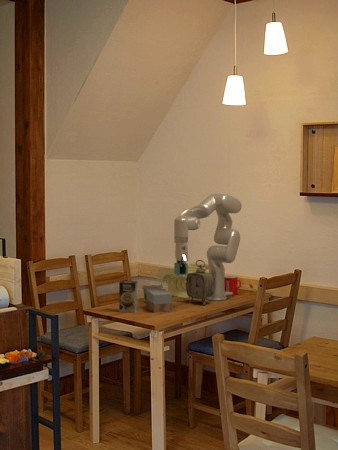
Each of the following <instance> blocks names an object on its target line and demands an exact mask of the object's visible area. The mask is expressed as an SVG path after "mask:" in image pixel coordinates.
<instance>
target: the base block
mask: <svg viewBox="0 0 338 450" xmlns="http://www.w3.org/2000/svg"><path fill="white" fill-rule="evenodd" d="M146 308H147V309H149V310H150V311H151V312H152V313H153V314H156V313H159V314H160V313H171V312H173V303H167V304H153V303H151V302H150V301H149V300H148V299H147V303H146Z"/></svg>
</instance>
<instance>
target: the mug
mask: <svg viewBox="0 0 338 450" xmlns="http://www.w3.org/2000/svg"><path fill="white" fill-rule="evenodd" d="M238 282H239V283H238ZM238 284H239V286H238ZM241 287H242V280H241V279H239V278H238V276H237V275H225V291H226V292H232V293H233V294H232V295H231V296H235V295H237V294H238V290H239V289H240V288H241ZM234 294H235V295H234Z"/></svg>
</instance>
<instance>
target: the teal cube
mask: <svg viewBox="0 0 338 450" xmlns="http://www.w3.org/2000/svg"><path fill="white" fill-rule="evenodd" d="M188 266H189V263H187V262H186V274H180V267H181V265H180V263H176V262H174V265H173V269H174V274H176V275H188Z"/></svg>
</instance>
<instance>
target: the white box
mask: <svg viewBox="0 0 338 450" xmlns="http://www.w3.org/2000/svg"><path fill="white" fill-rule="evenodd" d="M146 299H148V300H149V301H150V302H151V303H153V304H167V303H172V302H173V296H172V294H171V293H169V291H168V290H166V289H164V288H162V289H152V290H146ZM172 304H173V303H172Z"/></svg>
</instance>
